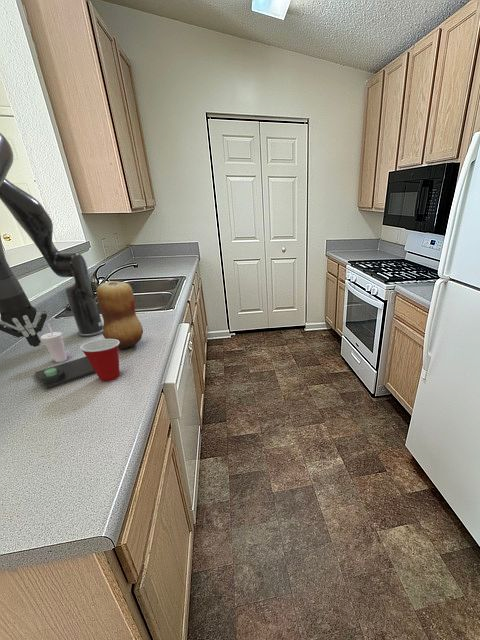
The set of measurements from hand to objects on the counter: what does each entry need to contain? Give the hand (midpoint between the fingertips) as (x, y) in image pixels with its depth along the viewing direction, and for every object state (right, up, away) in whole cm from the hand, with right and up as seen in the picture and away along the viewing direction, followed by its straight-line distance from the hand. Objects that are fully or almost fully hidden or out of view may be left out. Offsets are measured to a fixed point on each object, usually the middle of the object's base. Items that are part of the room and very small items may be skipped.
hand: (36, 345), depth 102 cm
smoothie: (-5, -5, +17) cm, 19 cm away
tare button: (+3, -9, +2) cm, 10 cm away
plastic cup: (+20, -10, +5) cm, 23 cm away
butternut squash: (+14, +1, +27) cm, 30 cm away
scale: (+5, -9, +8) cm, 13 cm away
